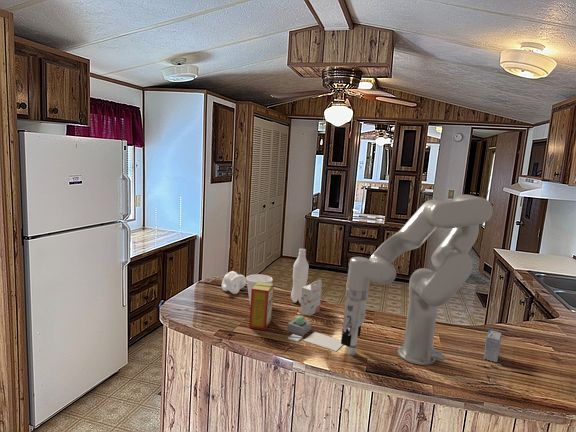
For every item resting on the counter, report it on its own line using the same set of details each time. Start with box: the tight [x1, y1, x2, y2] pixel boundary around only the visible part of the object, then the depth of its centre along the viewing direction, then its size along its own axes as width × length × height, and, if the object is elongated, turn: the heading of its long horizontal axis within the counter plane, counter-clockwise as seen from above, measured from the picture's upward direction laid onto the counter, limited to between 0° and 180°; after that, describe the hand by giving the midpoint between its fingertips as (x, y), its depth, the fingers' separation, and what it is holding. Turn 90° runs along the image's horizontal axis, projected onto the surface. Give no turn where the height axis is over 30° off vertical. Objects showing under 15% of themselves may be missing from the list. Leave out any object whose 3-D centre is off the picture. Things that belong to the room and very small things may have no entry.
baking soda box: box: [248, 282, 275, 331], centre depth 156 cm, size 10×6×16 cm
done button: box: [295, 314, 306, 326], centre depth 154 cm, size 3×3×4 cm
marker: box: [345, 324, 358, 356], centre depth 139 cm, size 3×3×12 cm
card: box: [287, 333, 303, 343], centre depth 147 cm, size 4×4×1 cm
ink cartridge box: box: [299, 279, 323, 317], centre depth 173 cm, size 9×5×15 cm, turn 143°
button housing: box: [286, 317, 312, 337], centre depth 154 cm, size 7×7×3 cm
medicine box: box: [483, 329, 503, 363], centre depth 144 cm, size 8×4×9 cm, turn 148°
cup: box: [245, 273, 274, 306], centre depth 176 cm, size 12×12×12 cm
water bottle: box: [290, 248, 310, 304], centre depth 183 cm, size 7×7×25 cm
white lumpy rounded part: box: [221, 270, 247, 295], centre depth 192 cm, size 11×12×9 cm
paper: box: [303, 331, 343, 352], centre depth 146 cm, size 13×9×1 cm
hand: (350, 340), depth 139 cm, fingers open, 9 cm apart
